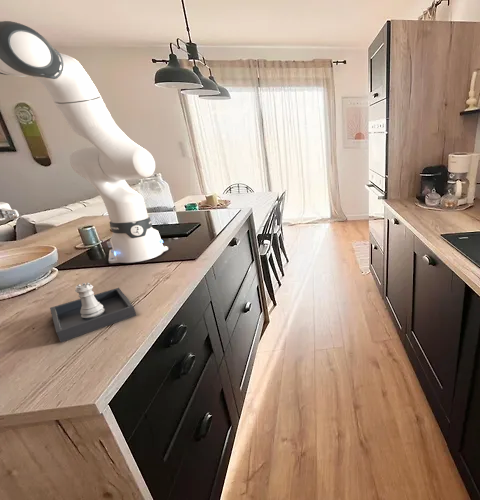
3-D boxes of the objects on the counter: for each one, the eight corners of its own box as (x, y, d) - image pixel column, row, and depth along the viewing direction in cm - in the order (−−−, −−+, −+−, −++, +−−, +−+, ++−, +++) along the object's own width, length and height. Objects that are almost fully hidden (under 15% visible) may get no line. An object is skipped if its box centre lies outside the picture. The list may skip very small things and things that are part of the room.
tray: (53, 316, 70) (49, 307, 69) (121, 295, 80) (118, 287, 79) (60, 342, 61) (56, 332, 60) (136, 315, 70) (133, 306, 70)
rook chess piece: (109, 311, 71) (99, 282, 68) (89, 320, 67) (77, 290, 64) (97, 307, 73) (87, 279, 70) (77, 317, 69) (65, 287, 66)
